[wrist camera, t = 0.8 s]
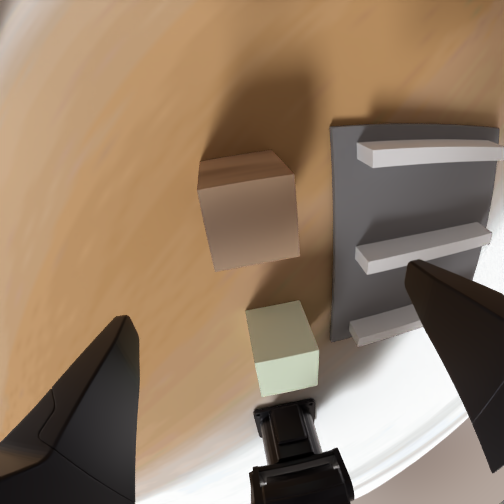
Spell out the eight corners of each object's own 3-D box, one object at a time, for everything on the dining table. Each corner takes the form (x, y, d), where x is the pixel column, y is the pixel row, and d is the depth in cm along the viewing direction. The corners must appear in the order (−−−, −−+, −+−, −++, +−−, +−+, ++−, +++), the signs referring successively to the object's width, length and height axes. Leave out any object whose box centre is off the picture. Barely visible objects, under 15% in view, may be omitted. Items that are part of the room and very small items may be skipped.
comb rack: (463, 298, 26) (476, 312, 24) (329, 338, 25) (339, 359, 23) (496, 127, 17) (517, 135, 15) (329, 126, 16) (346, 133, 14)
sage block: (300, 336, 25) (317, 385, 20) (252, 346, 24) (261, 397, 20) (299, 299, 22) (319, 349, 18) (245, 310, 22) (254, 363, 18)
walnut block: (278, 213, 19) (299, 256, 15) (212, 225, 19) (214, 272, 14) (271, 149, 17) (294, 174, 13) (199, 161, 17) (197, 190, 12)
